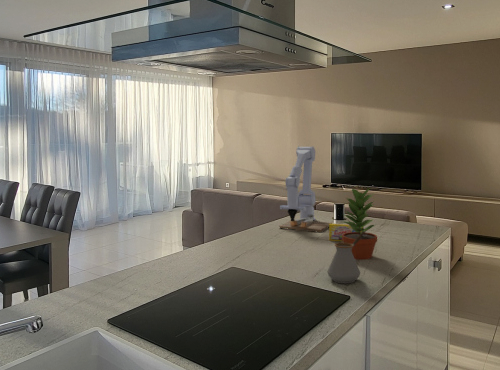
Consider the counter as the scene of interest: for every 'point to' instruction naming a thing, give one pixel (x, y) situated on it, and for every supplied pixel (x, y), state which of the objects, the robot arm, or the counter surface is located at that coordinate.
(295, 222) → the tongs swing arm
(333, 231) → the candy box
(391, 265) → the counter surface
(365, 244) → the potted plant
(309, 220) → the tongs fixed arm
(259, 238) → the counter surface
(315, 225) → the walnut board
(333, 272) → the coffee pot
